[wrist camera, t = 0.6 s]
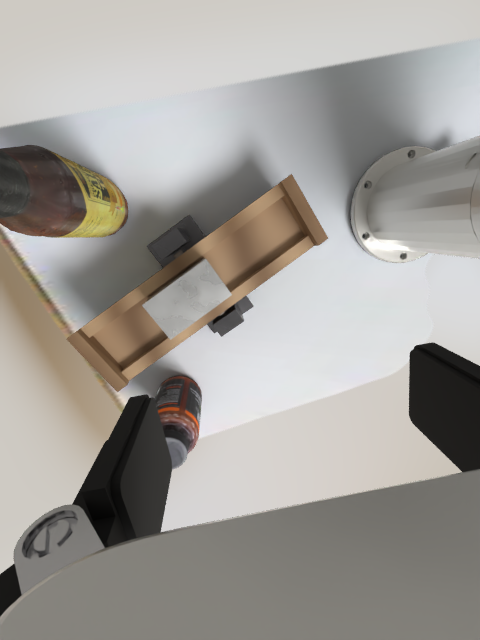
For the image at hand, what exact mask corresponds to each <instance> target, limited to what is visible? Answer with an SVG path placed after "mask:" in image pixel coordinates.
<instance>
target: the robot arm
mask: <svg viewBox="0 0 480 640" xmlns="http://www.w3.org/2000/svg"><path fill="white" fill-rule="evenodd" d="M364 184H366V188H365V187H364ZM350 213H351V225H352V229H353V233H354V235H355V237H356V239H357V241H358V243H359V244H360V245H361V247H362V248H363V249H364V250H365V251H366V252H367V253H368V254H370V255H371V256H373V257H375V258H377V259H379V260H382V261H386V262H392V263H405V262H409V261H413V260H416V259H418V258H421V257H423V256H425V255H426V254H428V253H432V254H441V255H451V256H460V257H470V258H478V259H480V136H477V137H474V138H472V139H469V140H466V141H463V142H461V143H458V144H455V145H452V146H449V147H447V148H444V149H441V150H438V151H434V150H432V149H429V148H426V147H418V146H411V147H404V148H401V149H398V150H395V151H392V152H390V153H388V154H386V155H384V156H383V157H381V158H380V159H379V160H377V161H376V162H375V163H374V164H373V165H372V166H371V167H370V168H369V169H368V170H367V171H366V172H365V174H364V175H363V176H362V178H361V179H360V181H359V183H358V185H357V187H356V189H355V192H354V195H353V199H352V204H351V212H350ZM363 234H364V237H363V238H362V235H363ZM400 255H401V256H400ZM409 378H410V379H409V381H410V382H409V416H410V419H411V421H412V423H413V424H414V425H415V426H416V427H417V428H418V429H419V430H420V431H421V432H422V433H423V434H424V435H425V436H426V437H427V438H428V439H429V440H430V441H431V442H432V443H433V444H434V445H436V446H437V448H438V449H440V450H441V451H442V452H443V453H444V454H445V455H446V456H447V457H448V458H449V459H450V460H451V461H452V462H453V463H454V464H455V465H456V466H457V467H458V468H459V469H460V470H461V471H462V473H457V474H451V475H446V476H441V477H436V478H431V479H425V480H420V481H415V482H410V483H405V484H400V485H394V486H389V487H384V488H379V489H374V490H368V491H364V492H358V493H353V494H348V495H343V496H339V497H333V498H328V499H323V500H317V501H312V502H308V503H302V504H297V505H292V506H288V507H282V508H277V509H272V510H267V511H262V512H257V513H252V514H247V515H242V516H237V517H232V518H227V519H222V520H218V521H213V522H207V523H203V524H198V525H193V526H188V527H183V528H178V529H174V530H170V531H165V532H161V527H162V521H163V515H164V510H165V505H166V499H167V494H168V488H169V483H170V478H171V472H172V459H171V456H170V452H169V448H168V445H167V441H166V438H165V434H164V431H163V427H162V423H161V420H160V416H159V413H158V409H157V406H156V402H155V399H154V398H149V396H148V395H147V394H146V395H141V396H135V397H130V399H129V400H128V402H127V404H126V406H125V408H124V410H123V412H122V414H121V416H120V418H119V420H118V422H117V424H116V426H115V427H114V430H113V431H112V433H111V435H110V437H109V439H108V440H107V441H106V442H105V443H104V445H103V447H102V449H101V451H100V453H99V454H98V456H97V458H96V460H95V462H94V464H93V466H92V468H91V470H90V472H89V474H88V475H87V477H86V479H85V481H84V483H83V485H82V487H81V489H80V491H79V493H78V494H77V496H76V498H75V500H74V502H73V504H72V505H64V506H61V507H58V508H55V509H53V510H51V511H49V512H48V513H46V514H44V515H43V516H41V517H40V518H39V519H38V520H36V521H35V522H34V523H33V524H32V525H31V526H30V527H29V528H28V529H27V530H26V531H25V532H24V533H23V535H22V536H21V537H20V539H19V540H18V542H17V545H16V547H15V549H14V564H13V565H12V566H11V567H9V568H8V569H7V570H5V571H4V572H3V573H1V574H0V640H480V366H479V365H477V364H475V363H473V362H471V361H469V360H467V359H465V358H463V357H461V356H459V355H457V354H455V353H453V352H451V351H449V350H447V349H445V348H443V347H441V346H439V345H438V344H435V343H427V344H422V345H416V346H415V347H414V349H413V350H412V351H411V352H410V377H409ZM160 532H161V533H160Z"/></svg>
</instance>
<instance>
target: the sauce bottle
mask: <svg viewBox="0 0 480 640" xmlns="http://www.w3.org/2000/svg"><path fill="white" fill-rule="evenodd" d="M127 217H128V206H127V201H126V199H125V197H124V195H123V194H122V192H121V191H120V190H119V188H118V187H117V186H116V185H115V184H114V183H113V182H111V181H110V180H109V179H107V178H105V177H103V176H101V175H99V174H97V173H95V172H93V171H91V170H89V169H87V168H85V167H83V166H81V165H79V164H77V163H75V162H73V161H70V160H68V159H66V158H64V157H62V156H60V155H58V154H56V153H54V152H51V151H49V150H47V149H45V148H42V147H39V146H35V145H25V146H21V147H11V148H2V149H0V223H1V224H2V225H3V226H5V227H7V228H8V229H9V230H11V231H15V232H18V233H22V234H25V235H31V236H46V237H105V236H108V235H112V234H115V233H116V232H117V231H119V230H120V229H121V228H122V227H123V226H124V224H125V223H126V220H127Z"/></svg>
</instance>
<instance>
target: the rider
mask: <svg viewBox="0 0 480 640" xmlns="http://www.w3.org/2000/svg"><path fill="white" fill-rule="evenodd" d="M231 295H232V294H231V293H230V291H229V290H228V289H227V287H226V286H225V284H224V283H223V282H222V280H221V279H220V277H219V276H218V275H217V273H216V272H215V270H214V269H213V268H212V266H211V265H210V263H209V262H208V261H207V259H206V258H203V259H201V260H200V261H199V262H197V263H196V264H194V265H193V266H192V267H190V268H189V269H188V270H186V271H185V272H183V273H182V274H181V275H179V276H178V277H177V278H175V279H174V280H173V281H171V282H170V283H168V284H167V285H166V286H164V287H163V288H162V289H160V290H159V291H157V292H156V293H155V294H153V295H152V296H151V297H149V298H148V299H147V300H146V301H145V302H144V304H143V305H142V306H143V307H144V309H145V310H146V311H147V312H148V313H149V315H150V316H151V317H152V318H153V319H154V321H155V322H156V323H157V324H158V325H159V327H160V328H161V329H162V330H163V331H164V333H165V334H166V335H167V336H168V337H169V339H170V340H171V339H172V338H174V337H175V336H177V335H178V334H179V333H181V332H182V331H183V330H185V329H186V328H188V327H189V326H190V325H192V324H193V323H194V322H196V321H197V320H198V319H200V318H201V317H203V316H204V315H205V314H207V313H208V312H209V311H211V310H212V309H214V308H215V307H216V306H218V305H219V304H220V303H222V302H223V301H225V300H226V299H227V298H229V297H230V296H231Z"/></svg>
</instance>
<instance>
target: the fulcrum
mask: <svg viewBox="0 0 480 640" xmlns="http://www.w3.org/2000/svg"><path fill="white" fill-rule="evenodd" d="M204 238H205V236H204V235H203V233H202V232H201V231H200V229H199V228H198V226H197V225H196V223H195V222H194V221H193V219H192V218H191V216H190V215H188V216H187V217H185V218H184V219H183V220H181V221H180V222H179V223H177V224H176V225H175V226H173V227H172V228H171V229H169V230H168V231H167V232H165V233H164V234H163V235H161V236H160V237H159V238H157V239H156V240H155V241H153V242H152V243H151V244H149V245H148V246H147V247H148V248H149V250H150V251H151V252H152V254H153V255H154V256H155V257H156V259H157V260H158V261H159V263H160V264H161V265H162V267H163V268H164V267H165V266H167V265H168V264H169V263H171V262H172V261H174V260H175V257H174V255H175V254H176V253H178V252H179V251H180V250H182V252H183V253H185V252H186V251H187V250H189V249H190V248H191V247H193V246H194V245H195V244H197V243H198V242H200V241H201V240H202V239H204ZM252 307H253V305H252V303H251V302H250V300H249V299H248V297H247V296H245V297H243V298H242V299H240V300H239V301H238V302H236V303H235V304H234V305H232V306H231V307H230V308H228V309H227V310H226V312H225V313H223V314H222V315H220V316H217V317H216V318H214V319H213V320H212V321H210V322H209V323H208V324H207V325H208V326H209V327H210V328H211V330H212V331H213V332H214V333H216V332H218V333H219V334H220V336H221V337H222V336H223V335H224V334H226V333H227V332H229V331H230V330H232V329H233V328H235V327H236V326H238V325H239V324H241V323H242V322H244V319H243V316H242V314H243V313H245V312H246V311H248V310H249V309H251V308H252Z"/></svg>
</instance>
